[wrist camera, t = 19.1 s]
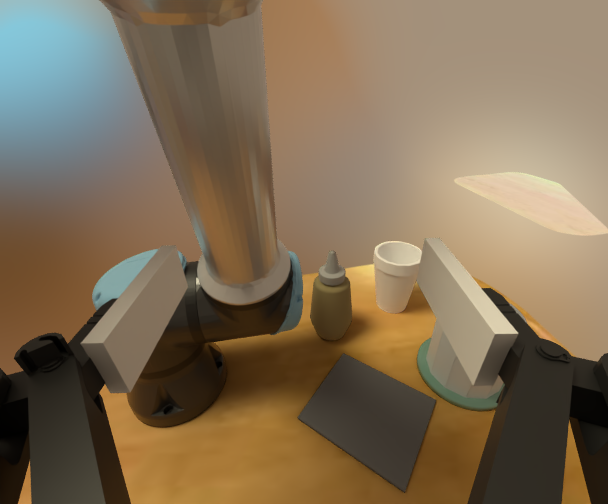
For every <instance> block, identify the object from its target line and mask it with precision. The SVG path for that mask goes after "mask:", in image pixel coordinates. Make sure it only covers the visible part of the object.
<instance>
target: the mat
mask: <svg viewBox="0 0 608 504" xmlns="http://www.w3.org/2000/svg"><path fill="white" fill-rule="evenodd" d="M435 402H436V400H435V399H433V398H431V397H429V396H427V395H425V394H423V393H421V392H419V391H417V390H415V389H413V388H411V387H409V386H407V385H405V384H403V383H401V382H399V381H397V380H395V379H393V378H391V377H389V376H387V375H386V374H384V373H382V372H380V371H378V370H376V369H374V368H372V367H370V366H368V365H366V364H364V363H362V362H360V361H358V360H356V359H354V358H352V357H350V356H348V355H346V354H344V353H343V355H342V356H341V357H340V359H339V360H338V362H337V363H336V364H335V366H334V367H333V369H332V370H331V371H330V373H329V374H328V376H327V377H326V378H325V380H324V381H323V383H322V384H321V385H320V387H319V388H318V390H317V391H316V392H315V394H314V395H313V397H312V398H311V399H310V401H309V402H308V404H307V405H306V406H305V408H304V409H303V411H302V412H301V413H300V415H299V416H298V419H299V420H300V421H302V422H303V423H305V424H306V425H308V426H309V427H310V428H312V429H313V430H315V431H316V432H318V433H319V434H321V435H322V436H323V437H325V438H326V439H328V440H329V441H331V442H332V443H333V444H335V445H336V446H338V447H339V448H341V449H342V450H344V451H345V452H346V453H348V454H349V455H351V456H352V457H354V458H355V459H357V460H358V461H359V462H361V463H362V464H364V465H365V466H367V467H368V468H369V469H371V470H372V471H374V472H375V473H377V474H378V475H380V476H381V477H382V478H384V479H385V480H387V481H388V482H390V483H391V484H393V485H394V486H395V487H397V488H398V489H400V490H401V491H403V492H404V493H405V490H406V487H407V484H408V481H409V478H410V475H411V473H412V470H413V467H414V464H415V461H416V458H417V455H418V452H419V449H420V446H421V443H422V440H423V437H424V434H425V431H426V428H427V425H428V423H429V420H430V417H431V414H432V411H433V408H434V405H435Z"/></svg>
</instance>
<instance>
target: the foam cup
mask: <svg viewBox="0 0 608 504" xmlns="http://www.w3.org/2000/svg"><path fill="white" fill-rule="evenodd" d="M421 255H422V251H421V250H420V249H419V248H418V247H416V246H414V245H412V244H409V243H405V242H400V241H390V242H384V243H381V244H380V245H378V246H376V247H375V252H374V260H373V263H374V267H375V287H376V301H377V302H376V303H377V305H378V307H379V308H380V309H382V310H383V311H386V312H389V313H399V312H402V311H403V310H404V309H405V308H406V306H407V304H408V301H409V298H410V296H411V293H412V290H413V288H414V285H415V282H416V280H417V275H418V270H419V265H420V260H421Z"/></svg>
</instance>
